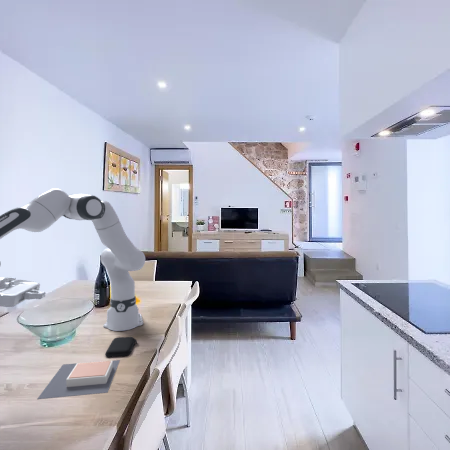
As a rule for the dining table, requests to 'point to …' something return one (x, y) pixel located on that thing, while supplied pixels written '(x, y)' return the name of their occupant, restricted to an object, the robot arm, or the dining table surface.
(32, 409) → the dining table surface
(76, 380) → the tile
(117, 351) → the carrying case or bag
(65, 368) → the mat
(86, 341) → the dining table surface
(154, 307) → the dining table surface
